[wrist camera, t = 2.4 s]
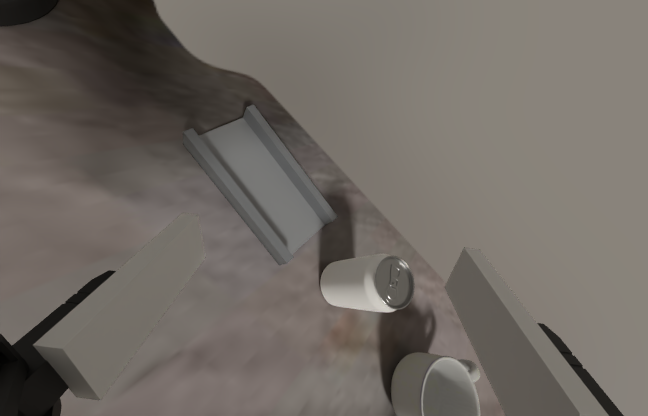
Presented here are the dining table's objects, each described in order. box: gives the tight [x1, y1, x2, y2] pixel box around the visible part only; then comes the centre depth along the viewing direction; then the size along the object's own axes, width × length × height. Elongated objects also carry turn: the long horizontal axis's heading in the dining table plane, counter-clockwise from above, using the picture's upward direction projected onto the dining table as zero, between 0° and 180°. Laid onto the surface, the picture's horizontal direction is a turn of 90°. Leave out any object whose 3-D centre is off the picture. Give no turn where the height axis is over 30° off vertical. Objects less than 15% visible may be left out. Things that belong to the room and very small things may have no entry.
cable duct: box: [183, 104, 338, 265], centre depth 33 cm, size 20×10×3 cm, turn 43°
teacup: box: [391, 352, 480, 416], centre depth 35 cm, size 14×11×8 cm
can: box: [320, 254, 414, 312], centre depth 31 cm, size 6×6×12 cm
